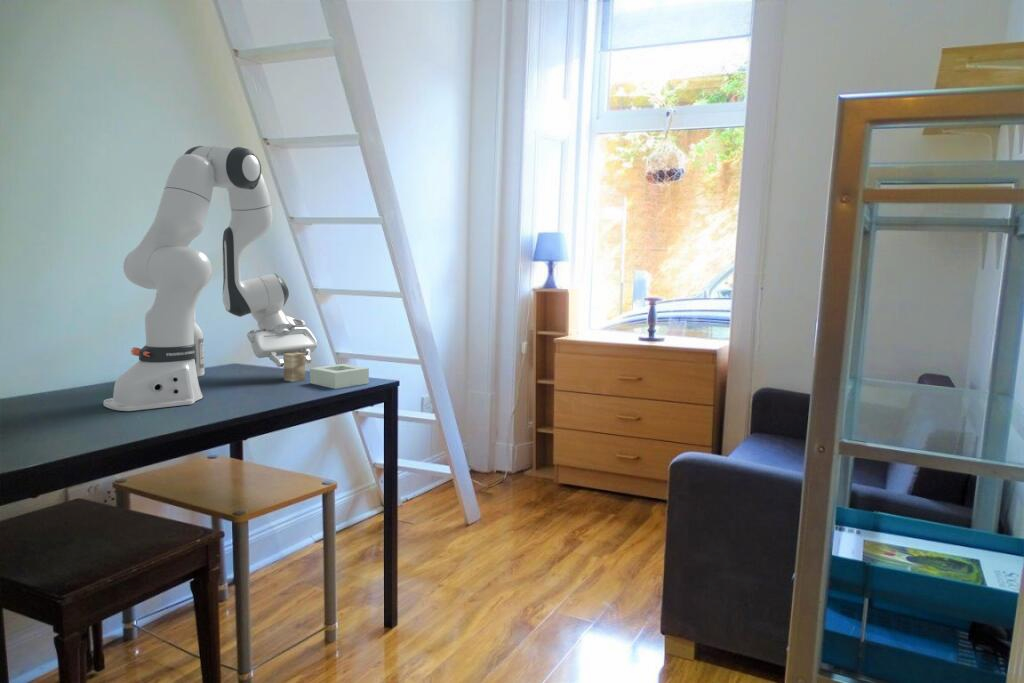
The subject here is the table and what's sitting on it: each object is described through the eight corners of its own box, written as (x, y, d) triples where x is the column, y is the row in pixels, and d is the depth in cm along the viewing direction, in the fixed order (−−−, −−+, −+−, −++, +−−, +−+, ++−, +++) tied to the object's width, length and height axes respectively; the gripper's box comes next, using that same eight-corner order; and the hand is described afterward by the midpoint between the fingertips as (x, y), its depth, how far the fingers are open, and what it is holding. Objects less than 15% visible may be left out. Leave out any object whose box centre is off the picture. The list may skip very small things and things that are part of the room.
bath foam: (199, 373, 221) (197, 309, 218) (207, 376, 216) (205, 311, 213) (176, 375, 216) (173, 310, 214) (184, 378, 211) (181, 311, 209)
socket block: (335, 388, 200) (335, 373, 200) (310, 383, 208) (310, 368, 207) (368, 383, 209) (368, 368, 209) (343, 378, 217) (343, 363, 216)
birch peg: (292, 381, 210) (291, 355, 209) (283, 379, 213) (283, 353, 212) (305, 379, 213) (304, 353, 212) (296, 378, 216) (296, 352, 215)
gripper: (248, 324, 207) (268, 361, 202) (308, 320, 223) (327, 354, 218) (241, 338, 211) (260, 374, 206) (300, 333, 226) (319, 366, 221)
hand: (295, 364), depth 212 cm, fingers open, 8 cm apart
